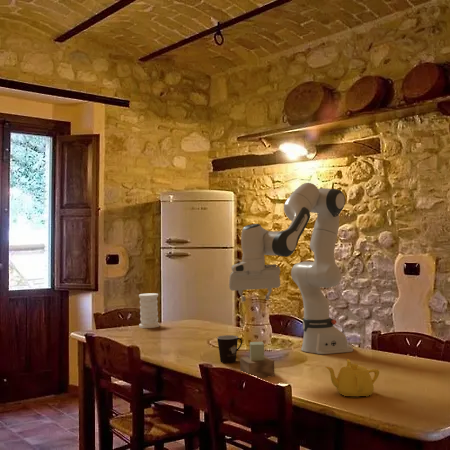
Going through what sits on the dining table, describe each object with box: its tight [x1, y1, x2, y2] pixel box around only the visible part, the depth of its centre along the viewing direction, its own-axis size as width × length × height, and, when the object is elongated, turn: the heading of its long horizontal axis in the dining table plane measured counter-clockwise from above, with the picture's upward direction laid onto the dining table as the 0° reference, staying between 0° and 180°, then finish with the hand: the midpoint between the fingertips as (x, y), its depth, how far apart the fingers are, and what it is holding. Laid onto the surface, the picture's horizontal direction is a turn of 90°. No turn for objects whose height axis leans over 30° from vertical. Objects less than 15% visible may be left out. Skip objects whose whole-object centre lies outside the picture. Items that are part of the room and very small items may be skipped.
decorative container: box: [138, 292, 161, 329], centre depth 336 cm, size 12×12×18 cm
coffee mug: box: [216, 334, 243, 364], centre depth 248 cm, size 12×9×10 cm
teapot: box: [325, 358, 380, 397], centre depth 198 cm, size 14×13×10 cm
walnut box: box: [239, 354, 275, 378], centre depth 226 cm, size 10×10×6 cm
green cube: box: [249, 341, 265, 361], centre depth 226 cm, size 5×5×6 cm
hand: (255, 300), depth 236 cm, fingers open, 8 cm apart
